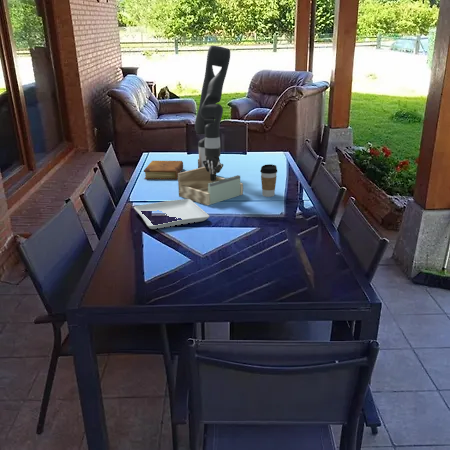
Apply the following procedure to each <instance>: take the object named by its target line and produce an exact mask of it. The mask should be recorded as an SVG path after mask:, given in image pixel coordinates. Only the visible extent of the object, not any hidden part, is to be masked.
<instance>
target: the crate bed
mask: <svg viewBox="0 0 450 450" xmlns="http://www.w3.org/2000/svg"><path fill="white" fill-rule="evenodd" d="M223 179H226V178H224V177H220V176H217V175H216V181H219V180H223ZM177 182H178V183H177V185H178V197H179V198H182V199H183V198H184V199H190V200H192V201H193V202H194V203H195V202H196V203H199V204H203V205H205V206H209V205H211V204H210V193H208V183H212V182H215V181H211V179H210V173H209V172H207V170H206V168H205V167H201V168H198V167H197V168H194V169H190V170H186V171H181V173H178V178H177ZM243 194H244V183H242V182H240V195H239V196H242V195H243Z"/></svg>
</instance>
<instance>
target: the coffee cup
mask: <svg viewBox="0 0 450 450" xmlns="http://www.w3.org/2000/svg"><path fill="white" fill-rule="evenodd" d="M277 167H278V166H277V165H275V164H272V163H271V164H270V163H269V164H268V163H267V164H263V165H262V166H261V168H260V174H261V175H260V179H261V181H260V182H261V189H262V190H261V192H262V193H261V195H262V196H263V197H267V198H271V197H274V196H275V193H276V183H277V173H278V168H277Z"/></svg>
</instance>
